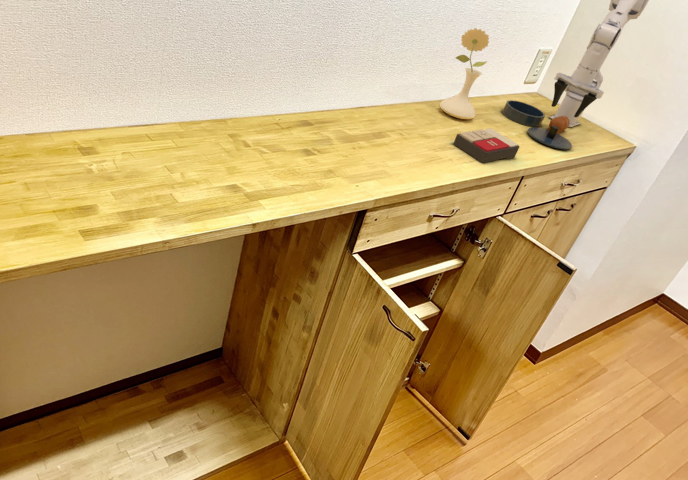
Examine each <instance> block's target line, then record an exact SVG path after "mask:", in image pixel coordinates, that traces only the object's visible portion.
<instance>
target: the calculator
mask: <svg viewBox="0 0 688 480" xmlns="http://www.w3.org/2000/svg"><path fill="white" fill-rule="evenodd" d="M452 144H453V145H454V146H455V147H457V148H458V149H460V150H462V151H463V152H465V153H466V154H467V155H469V156H471V157H473V158H474V159H475V160H477V161H479V162H480V163H482V164H484V163H488V162H493V161H497V160H502V159H506V160H510V159H514V158H516V156H517V153H518V152H519V149H520V145H519V143H517V142H515V141H514V140H512V139H510V138H508V137H506V136H505V135H503V134H501V133H500V132H498V131H496V130H495V129H493V128H484V129H483V128H481V129H475V130H472V131H471V130H470V131H463V132H460V133H457V134H456V136H455V138H454V141H453V143H452Z"/></svg>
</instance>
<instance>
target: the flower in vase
mask: <svg viewBox="0 0 688 480" xmlns="http://www.w3.org/2000/svg"><path fill="white" fill-rule="evenodd" d="M489 36H490V35H489V34H487V33H486V31H485V30H482V28H479V29H478V28H476V27H474V28H473V29H472V28H470V29H468V30H467V31H465V32H464V34H462V35H461V39H460V40H461V46H462V47H463V48H466V50H467V51H470V55H469V56H467V55H466V54H459V55H457V56H456V57H455V59H456V60H457V61H459V62H460V63H467V62H469V64H470V67H466V68H465V74H466V75H465V79H464V84H463V86H462V88H461V90H460V92H458V94H456V95H453V96H450V97H448V98H445V99H443V100H442V101H441V102H439V107H440V109H441V111H443V112H444V113H446V114H447V115H449V116H451V117H454V118H457V119H461V120H472V119H473V118H475V117H476V110H475V108H474V106H473V104H472V102H471V101H470V98H469V93H470V90H471V89H472V86H473V84H474V83H475V81H476V80H477V79H478V78H479V77H480V76H482V74H483V73H482V72H481V71H480V70H477V69H475V68H473V67H477V68H479V67H482V66H484V65H485V64H486V63H487V62H488V60H486V61H477V62H474V63H473V64H472V54H473V52H478V51H480V52H482V51H483V50H484V49H485V48H487V47H488V46H489V43H490V41H489V39H490V38H489Z"/></svg>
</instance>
